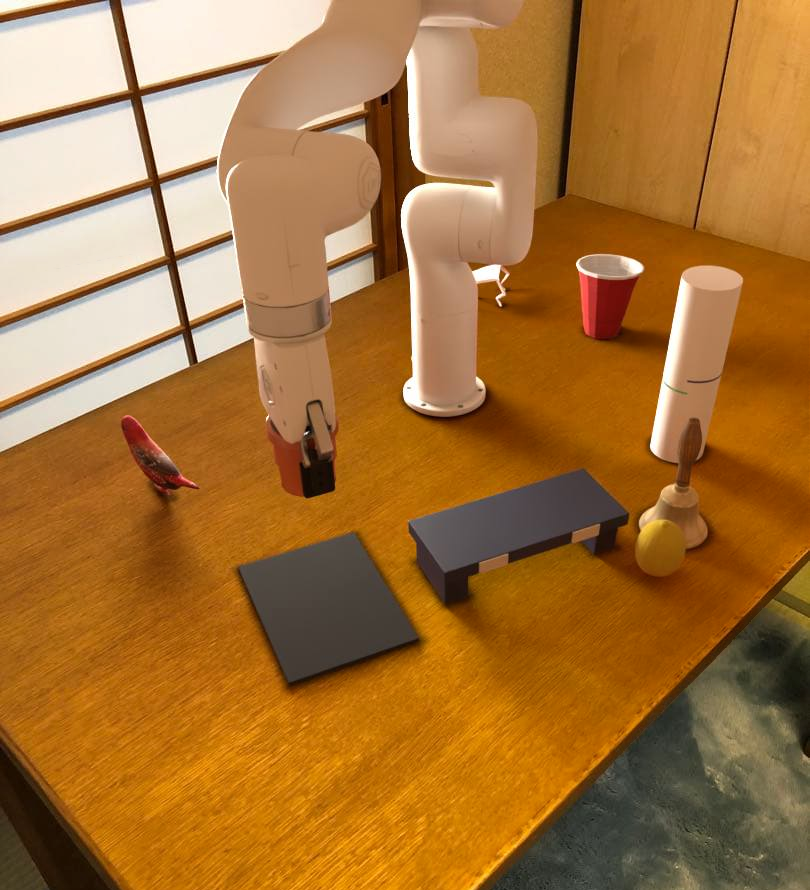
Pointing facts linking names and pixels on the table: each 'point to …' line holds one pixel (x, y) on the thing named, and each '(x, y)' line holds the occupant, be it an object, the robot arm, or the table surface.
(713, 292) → the cylindrical container
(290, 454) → the pot
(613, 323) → the plastic cup
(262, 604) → the mat
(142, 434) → the decorative bird figurine
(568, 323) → the table surface
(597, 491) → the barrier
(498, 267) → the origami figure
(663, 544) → the lemon
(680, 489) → the hand bell
